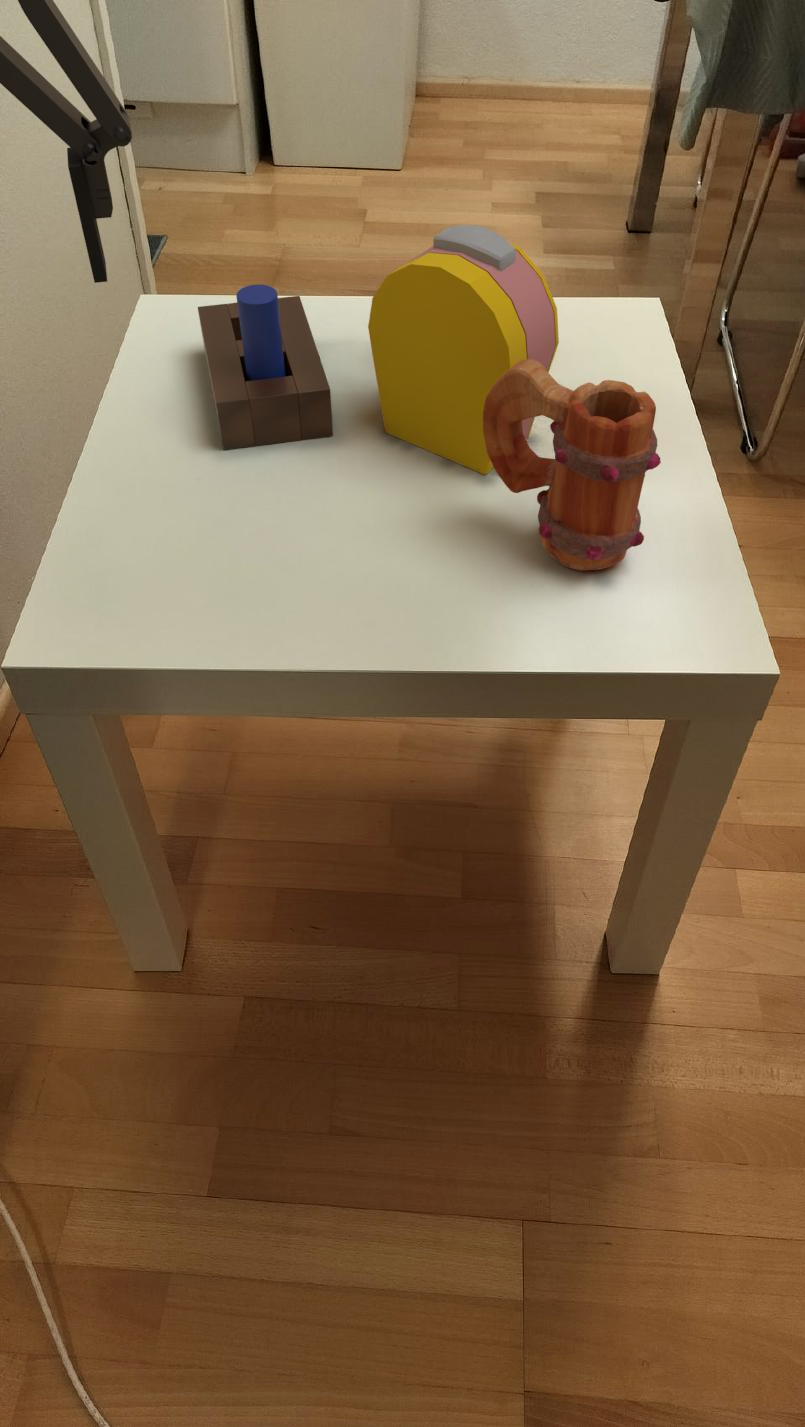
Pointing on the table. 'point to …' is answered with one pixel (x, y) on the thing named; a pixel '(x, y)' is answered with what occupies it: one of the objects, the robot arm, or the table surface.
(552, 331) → the alarm clock
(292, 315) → the holder
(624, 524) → the mug
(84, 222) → the robot arm
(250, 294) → the blue long cylinder
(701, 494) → the table surface
